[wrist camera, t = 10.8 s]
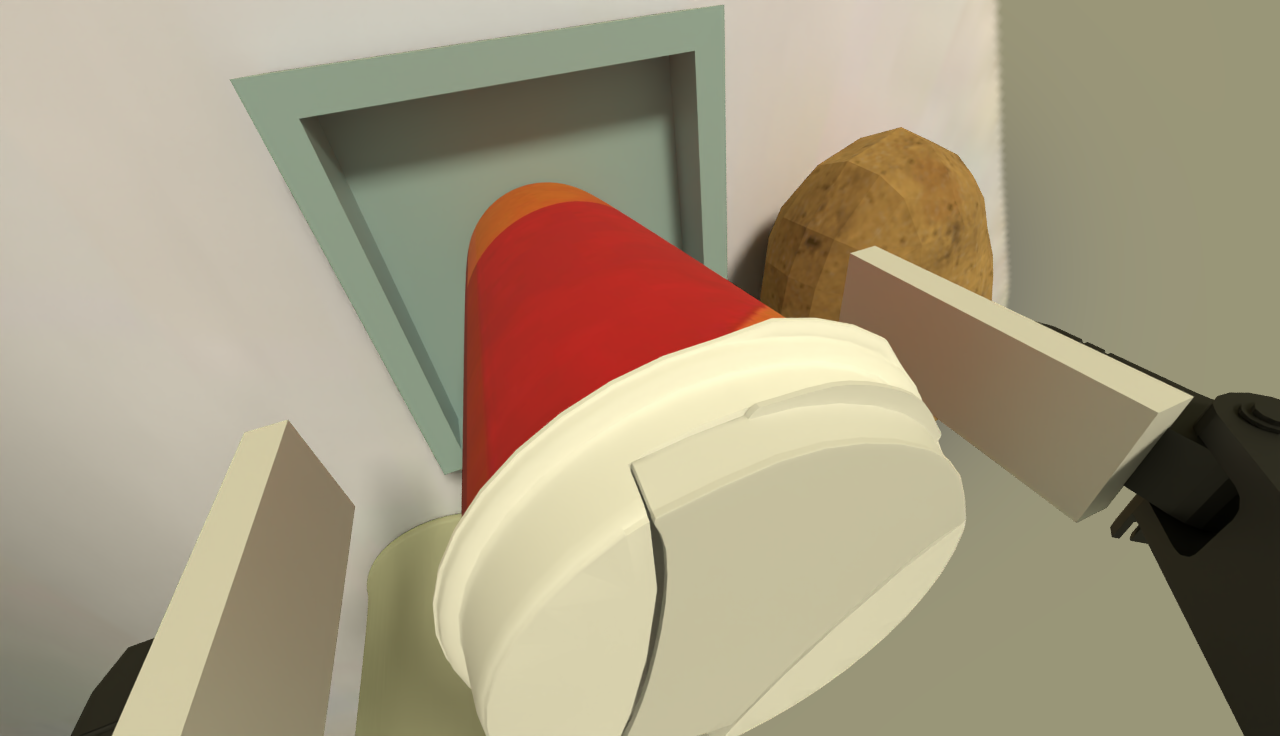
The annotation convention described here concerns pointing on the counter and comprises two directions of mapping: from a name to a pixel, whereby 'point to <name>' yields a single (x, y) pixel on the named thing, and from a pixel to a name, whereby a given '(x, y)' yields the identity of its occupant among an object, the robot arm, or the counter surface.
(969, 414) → the robot arm
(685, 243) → the tray
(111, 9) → the counter surface
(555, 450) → the coffee cup
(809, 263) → the potato
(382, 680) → the can
